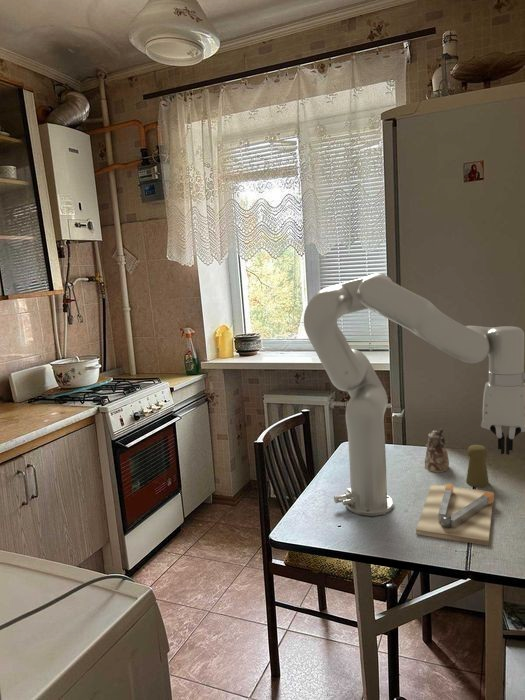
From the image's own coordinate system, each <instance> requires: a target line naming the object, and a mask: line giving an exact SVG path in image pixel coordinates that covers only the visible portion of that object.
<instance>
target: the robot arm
mask: <svg viewBox="0 0 525 700" xmlns="http://www.w3.org/2000/svg"><path fill="white" fill-rule="evenodd" d="M364 310H371V311H373V312H375V313H376V314H378V315H380V316H382V317H384V318H386V319H388V320H390V321H391V322H393V323H396V324H397V325H399V326H401V327H402V328H404V329H406V330H408V331H410V332H411V333H412V334H413V335H415V336H417V337H419V338H420V339H422V340H424V341H425V342H427V343H428V344H430V345H431V346H433V347H434V348H436V349H437V350H440V351H442V352H444V353H445V354H447V355H449V356H451V357H453V358H455V359H456V360H459V361H461V362H464V363H466V364H467V363H468V364H476V363H480V362H482V361H483V360H485V359H486V358H487V357H488V381H487V382H485V385H484V389H483V397H482V420H481V423H480V427H481V428H482V429H486V430H488V431H489V430H490V431H491V432H492V433H493V434H494V435H495V436H496V437H497V449H498V450H500V454H501V455H504V454H506V455H507V456H508V455H510V451H513V447H514V443H513V442H514V438H515V437H517V436H518V435H519V434H520V433H524V432H525V368H524V367H525V332H524V330H523V329H522V328H521V327H519V326H511V325H510V326H509V325H507V326H506V325H504V326H503V325H502V326H496V327H491V326H490V327H489V326H480V325H464V324H462V323H460V322H458V321H456V320H454V319H453V318H452V317H450V316H448V315H447V314H445V313H443V312H442V311H441V310H439V308H437V307H436V305H434V304H433V303H432V302H431V301H430V300H428V299H427V298H425V297H423V296H421V295H419V294H417V293H415V292H413V291H411V290H409V289H407V288H405V287H404V286H401V285H399V284H398V283H396V282H394V281H393V280H392V278H390V277H389V276H388V275H386V274H383V273H378V272H377V273H373V274H369V275H367V276H364V277H361V278H358V279H353V280H349V281H346V282H342V283H338V284H334V285H331V286H328V287H324V288H323V289H321V290H319V291H317V293H315V294H314V295H313V296H312V297H311V299H310V300H309V302H308V303H307V306H306V307H305V310H304V314H303V327H304V330H305V334H306V336H307V337H308V340H309V341H310V344H311V346H312V347H313V349H314V351H315V353H316V355H317V357H318V359H319V361H320V363H321V365H322V367H323V368H324V370H325V372H326V374H327V376H328V378H329V379H330V382H331V384H332V385H333V386H334V387H335V388H336V389H338V390H339V391H342V392H347V393H348V394H349V397H350V398H349V400H348V401H347V404H346V408H345V423H346V429H347V441H348V458H349V461H348V462H349V478H350V487H347V490H346V491H347V492H344V494H343V493H342V494H338V495H334V496H333V501H334V503H335V504H339V503H342V505H343V506H345V507H346V508H347V509H348V510H349V511H350V512H352V513H354V514H357V515H360V516H361V515H362V516H368V517H369V516H370V517H373V516H376V517H377V516H381V515H384V514H387V513H388V512H390V511H392V509H393V508H394V500H393V498H392V497H391V496H389V495H388V487H387V486H388V484H387V482H388V480H387V460H386V458H387V457H386V456H387V455H386V453H387V452H386V451H387V450H386V436H385V435H386V434H385V423H384V419H385V418H384V416H385V413H386V410H387V408H388V407H387V406H388V395H387V391H386V390H385V388H384V385H383V384H382V381H381V380H380V378H379V376H378V375H377V373H376V371H375V369H374V368H373V365H372V364H371V362H370V360H369V359H368V357H367V356H366V355H365V354H364V353H363V352H362V351H360V350H359V349H355V348H352V347H351V346H350V344H349V343H348V341H347V338H346V337H345V335H344V333H343V332H342V330H341V329H340V327H339V325H338V320H339V319H340V318H341V317H343V316H344V315H349V314H352V313H356V312H361V311H364ZM502 427H508V428H509V429H508V433H507V435H506V438H505V434H504V432H503V428H502Z"/></svg>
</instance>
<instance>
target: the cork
mask: <svg viewBox="0 0 525 700" xmlns="http://www.w3.org/2000/svg"><path fill="white" fill-rule="evenodd" d="M467 455H468V457H469V459H468V465H467V466H468V467H467V471H466V473H467V474H466V480H465V481H466V484H467V486H471V487H474V488H486V487H488V486H489V475H488V468H487V461H486V458H487V456H488V449H487V448H486V447H485V446H484V445H481V444H472V445H470V446H468V448H467Z"/></svg>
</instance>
